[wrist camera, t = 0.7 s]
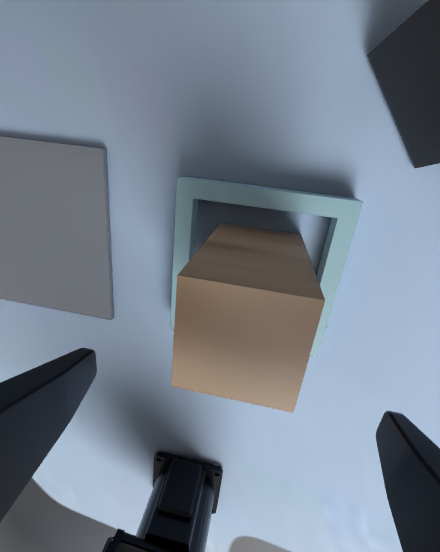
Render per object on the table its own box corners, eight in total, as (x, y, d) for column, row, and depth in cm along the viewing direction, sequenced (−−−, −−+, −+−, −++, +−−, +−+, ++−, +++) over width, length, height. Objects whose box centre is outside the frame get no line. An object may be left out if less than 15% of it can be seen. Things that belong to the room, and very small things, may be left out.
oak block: (285, 305, 20) (293, 412, 11) (212, 293, 20) (171, 386, 12) (301, 234, 18) (325, 300, 9) (220, 222, 18) (177, 275, 10)
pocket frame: (314, 343, 20) (316, 357, 19) (176, 317, 21) (169, 328, 20) (355, 198, 16) (363, 201, 15) (184, 176, 17) (176, 177, 16)
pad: (113, 317, 22) (111, 319, 22) (-24, 291, 24) (-28, 293, 23) (106, 148, 18) (103, 148, 17) (-64, 128, 19) (-71, 127, 19)
